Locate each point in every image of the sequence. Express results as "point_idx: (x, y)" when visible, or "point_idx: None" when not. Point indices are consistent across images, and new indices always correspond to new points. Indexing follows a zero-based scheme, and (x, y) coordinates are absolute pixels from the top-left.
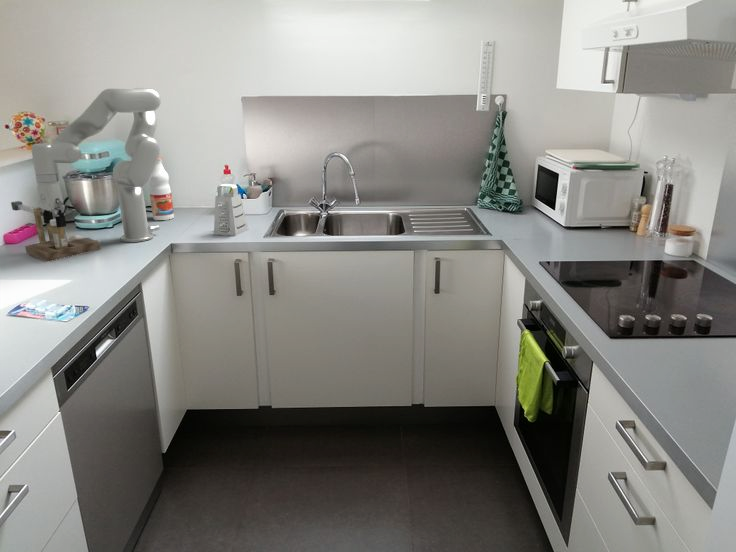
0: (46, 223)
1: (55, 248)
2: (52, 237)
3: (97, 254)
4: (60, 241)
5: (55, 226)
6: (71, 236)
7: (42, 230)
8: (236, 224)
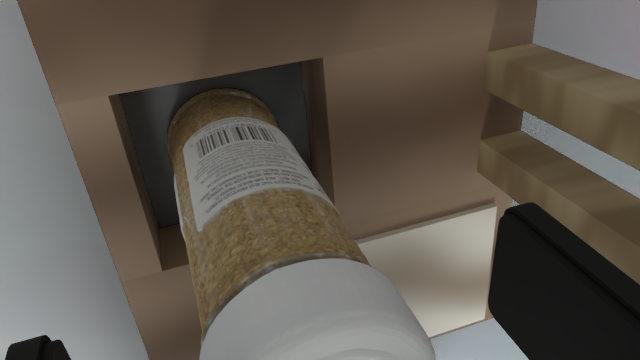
0: (503, 221)
1: (318, 117)
2: (501, 165)
3: (4, 348)
4: (181, 195)
5: (218, 305)
6: (474, 284)
7: (581, 124)
8: None
